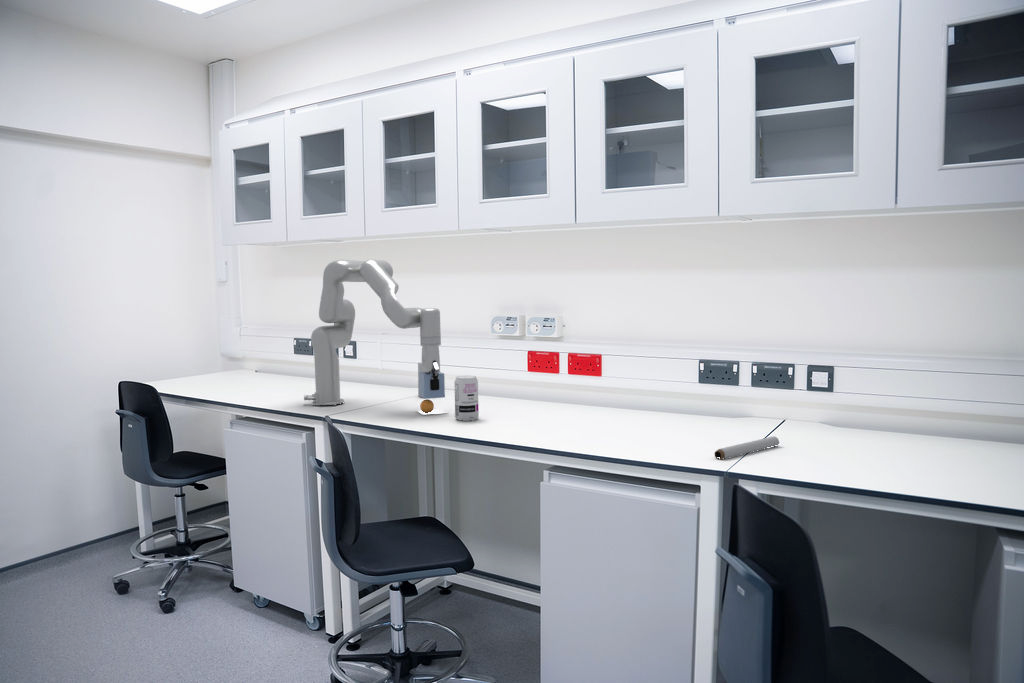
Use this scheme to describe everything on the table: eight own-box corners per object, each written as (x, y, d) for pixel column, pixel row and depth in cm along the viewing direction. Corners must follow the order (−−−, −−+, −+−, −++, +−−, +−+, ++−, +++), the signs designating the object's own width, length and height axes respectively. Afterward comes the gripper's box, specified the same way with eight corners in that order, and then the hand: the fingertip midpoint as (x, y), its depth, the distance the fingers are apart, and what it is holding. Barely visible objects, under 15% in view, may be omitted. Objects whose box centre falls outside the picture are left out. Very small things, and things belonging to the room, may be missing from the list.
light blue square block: (424, 398, 241) (423, 374, 241) (419, 395, 249) (418, 372, 248) (444, 397, 244) (444, 373, 244) (439, 394, 251) (438, 371, 251)
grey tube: (722, 462, 174) (779, 448, 188) (722, 450, 173) (779, 437, 187) (713, 459, 176) (769, 446, 190) (713, 448, 176) (770, 435, 190)
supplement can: (465, 416, 239) (464, 374, 238) (483, 418, 234) (482, 376, 233) (450, 419, 232) (449, 377, 231) (468, 422, 227) (468, 379, 226)
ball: (437, 406, 244) (428, 416, 244) (435, 404, 249) (426, 414, 248) (427, 397, 243) (418, 407, 242) (425, 395, 248) (416, 405, 247)
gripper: (415, 340, 252) (416, 386, 253) (426, 343, 235) (427, 392, 237) (434, 339, 254) (435, 385, 256) (446, 342, 238) (448, 391, 239)
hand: (432, 388), depth 246 cm, fingers closed on light blue square block, 7 cm apart
